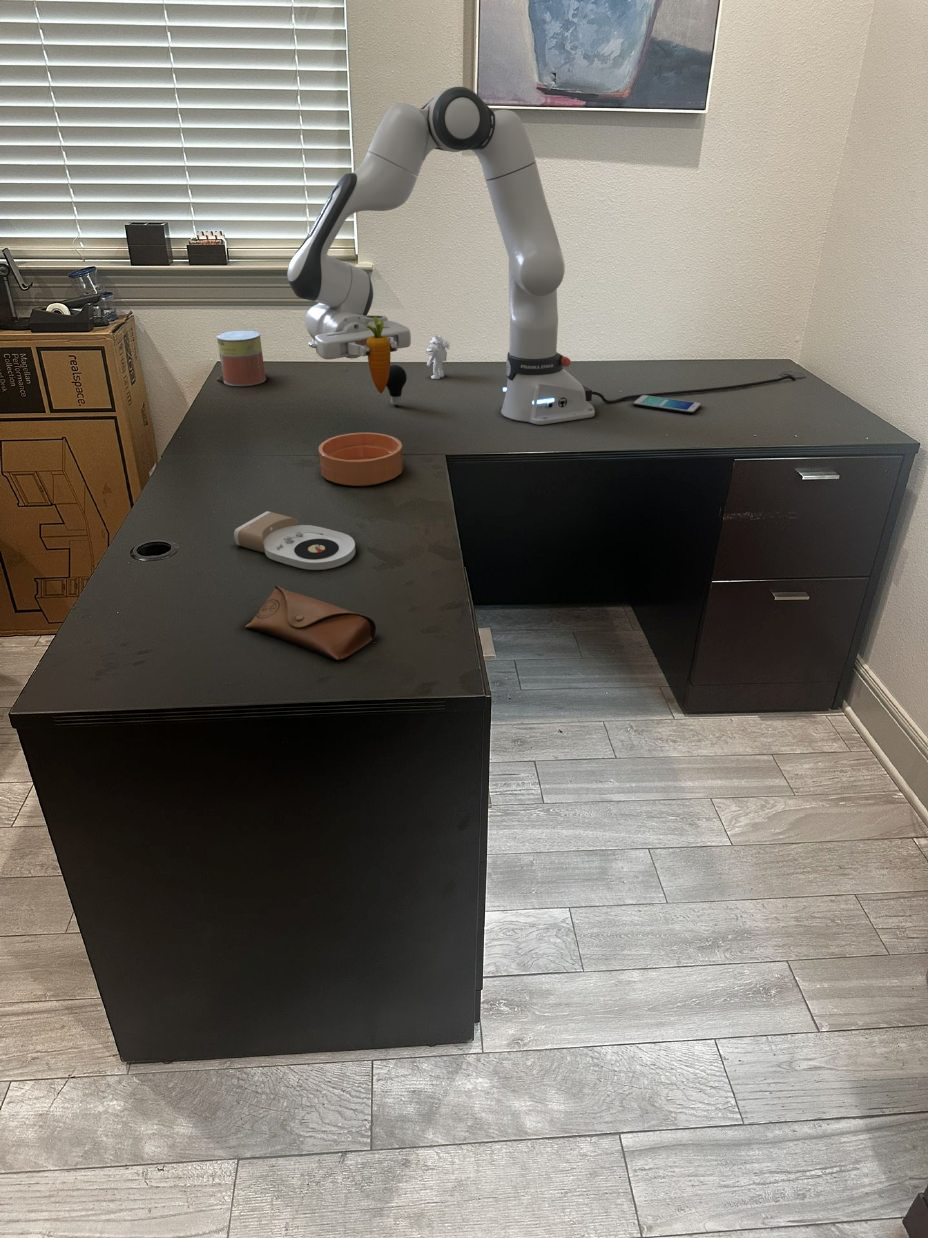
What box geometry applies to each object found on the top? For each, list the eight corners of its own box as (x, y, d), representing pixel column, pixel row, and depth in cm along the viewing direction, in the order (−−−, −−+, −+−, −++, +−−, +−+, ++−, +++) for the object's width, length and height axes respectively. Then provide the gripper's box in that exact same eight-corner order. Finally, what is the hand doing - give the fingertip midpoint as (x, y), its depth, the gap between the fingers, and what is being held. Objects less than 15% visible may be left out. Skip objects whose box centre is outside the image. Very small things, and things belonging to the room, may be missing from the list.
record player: (273, 507, 147) (367, 531, 139) (275, 523, 149) (369, 547, 141) (228, 532, 139) (326, 560, 131) (231, 549, 140) (328, 577, 132)
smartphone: (642, 394, 211) (701, 402, 204) (642, 397, 211) (701, 406, 205) (632, 402, 205) (693, 411, 199) (632, 405, 205) (692, 414, 199)
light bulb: (380, 407, 206) (377, 367, 200) (390, 401, 210) (388, 361, 205) (401, 410, 204) (399, 369, 198) (411, 403, 208) (410, 363, 203)
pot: (396, 454, 178) (395, 429, 175) (408, 483, 164) (407, 457, 161) (318, 461, 175) (316, 435, 172) (324, 491, 161) (321, 464, 158)
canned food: (226, 375, 231) (219, 330, 225) (267, 373, 232) (261, 329, 226) (221, 386, 222) (213, 340, 215) (263, 385, 223) (257, 339, 216)
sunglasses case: (239, 626, 119) (250, 581, 118) (271, 628, 125) (281, 585, 124) (341, 662, 111) (353, 614, 110) (369, 662, 117) (381, 616, 117)
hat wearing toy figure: (435, 381, 225) (434, 336, 218) (423, 379, 226) (421, 334, 220) (452, 373, 231) (452, 329, 225) (441, 371, 233) (440, 327, 227)
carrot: (389, 397, 170) (385, 320, 162) (365, 395, 171) (360, 319, 163) (395, 390, 174) (392, 315, 166) (373, 388, 175) (368, 314, 167)
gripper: (303, 326, 170) (332, 340, 160) (390, 314, 180) (423, 326, 170) (306, 357, 174) (334, 373, 164) (392, 344, 183) (424, 358, 173)
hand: (380, 349), depth 167 cm, fingers closed on carrot, 5 cm apart
